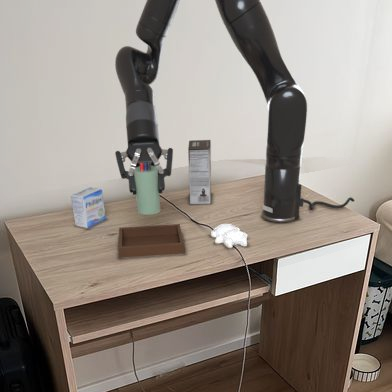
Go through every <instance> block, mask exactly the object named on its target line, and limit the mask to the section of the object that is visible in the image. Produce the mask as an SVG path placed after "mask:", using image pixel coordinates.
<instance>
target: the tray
mask: <svg viewBox="0 0 392 392" xmlns="http://www.w3.org/2000/svg"><path fill="white" fill-rule="evenodd" d="M184 254H185V242H184V238H183V234H182V227H181V224H180V223H175V224H174V223H173V224H159V225H157V224H156V225H144V226H143V225H139V226H125V227H119V228H118V255H119V259H121V258H122V259H123V258H137V257H153V256H168V255H184Z"/></svg>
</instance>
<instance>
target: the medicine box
mask: <svg viewBox="0 0 392 392" xmlns="http://www.w3.org/2000/svg"><path fill="white" fill-rule="evenodd" d="M70 200H71V206H72V211H73V218H74V222H75V223H74V224H75V226H76V227H81V228H85V229H89V228H91V227H93V226H95V225H96V224H99V223H100V222H102V221H105V220H106V210H105V202H104V194H103V189H102V188H98V187H94V186H93V187H88V188H85V189H83V190H81V191H78V192H76V193H74V194H72V195H70Z"/></svg>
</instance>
